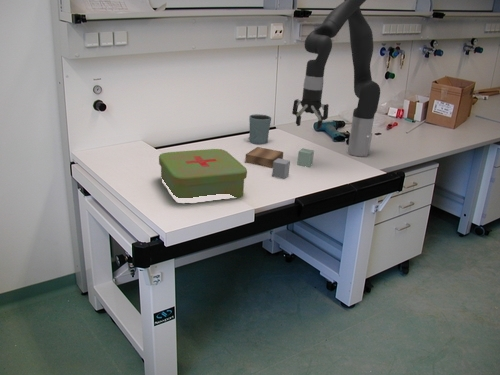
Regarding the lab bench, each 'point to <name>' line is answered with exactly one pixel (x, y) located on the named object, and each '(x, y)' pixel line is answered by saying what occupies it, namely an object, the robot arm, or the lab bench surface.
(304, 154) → the green block
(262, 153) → the walnut block
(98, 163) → the lab bench surface
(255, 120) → the grey-green plant pot
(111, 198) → the lab bench surface
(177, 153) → the first aid kit
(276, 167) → the grey block
